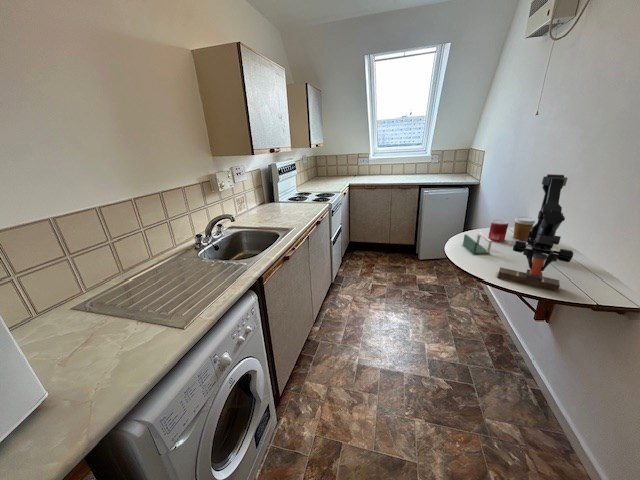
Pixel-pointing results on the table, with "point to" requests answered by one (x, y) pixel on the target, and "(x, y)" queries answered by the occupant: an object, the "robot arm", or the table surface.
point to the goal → (476, 244)
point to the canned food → (498, 230)
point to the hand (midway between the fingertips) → (535, 269)
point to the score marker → (536, 267)
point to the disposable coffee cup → (522, 227)
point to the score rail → (521, 278)
